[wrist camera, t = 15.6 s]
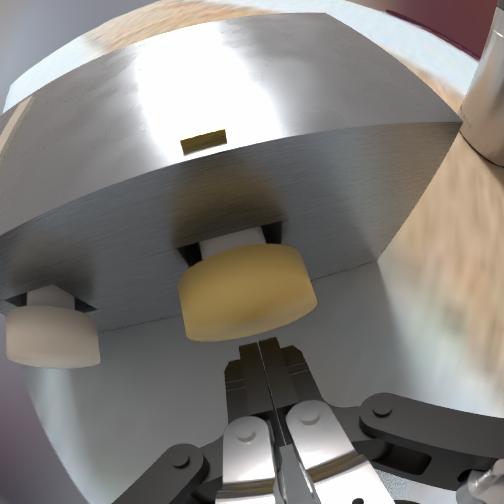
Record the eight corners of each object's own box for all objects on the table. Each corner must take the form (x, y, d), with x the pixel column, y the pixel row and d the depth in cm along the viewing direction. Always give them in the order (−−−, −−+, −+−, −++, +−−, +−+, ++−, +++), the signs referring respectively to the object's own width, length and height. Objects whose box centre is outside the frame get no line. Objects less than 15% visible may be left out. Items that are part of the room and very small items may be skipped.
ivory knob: (119, 362, 13) (54, 347, 8) (51, 370, 12) (-12, 355, 8) (115, 159, 19) (86, 110, 15) (63, 181, 19) (31, 139, 14)
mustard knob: (309, 319, 13) (329, 283, 9) (204, 346, 13) (166, 326, 8) (238, 122, 20) (230, 64, 15) (172, 139, 20) (152, 84, 15)
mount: (376, 260, 18) (466, 115, 7) (65, 338, 17) (-70, 274, 6) (314, 139, 23) (325, 9, 12) (70, 208, 22) (-5, 115, 11)
